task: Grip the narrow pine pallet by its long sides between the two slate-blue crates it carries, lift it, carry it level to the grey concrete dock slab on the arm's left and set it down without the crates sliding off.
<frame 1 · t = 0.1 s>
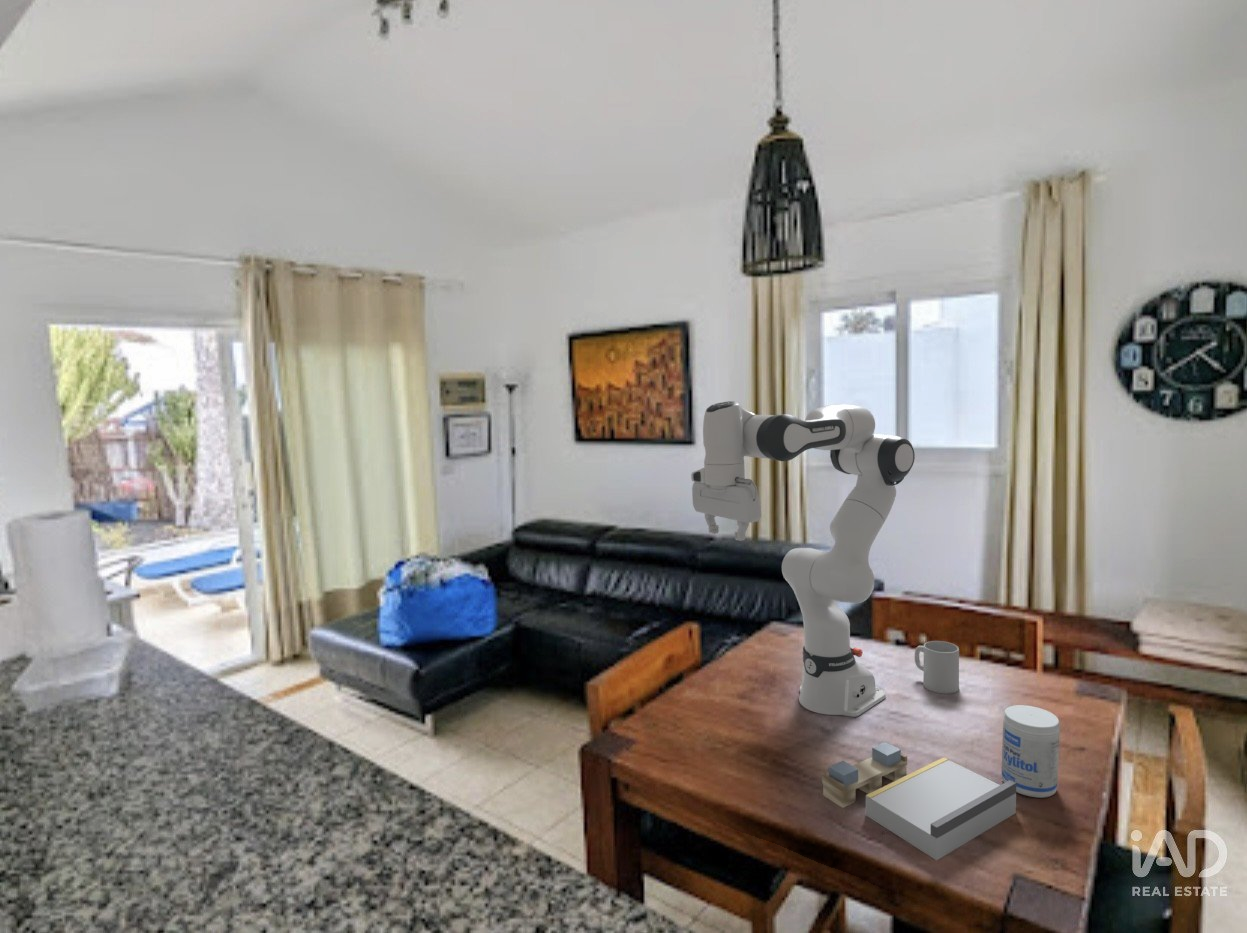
hand: (726, 536, 155), 48 cm above the table, fingers open, 8 cm apart
mug: (935, 685, 183), on the table
crate a: (886, 760, 142), point 3 cm above the table, touching pallet
supplement tub: (1029, 786, 137), on the table
dock: (940, 814, 129), on the table
pallet: (865, 785, 139), on the table, touching crate a, crate b
crate b: (843, 779, 136), point 3 cm above the table, touching pallet
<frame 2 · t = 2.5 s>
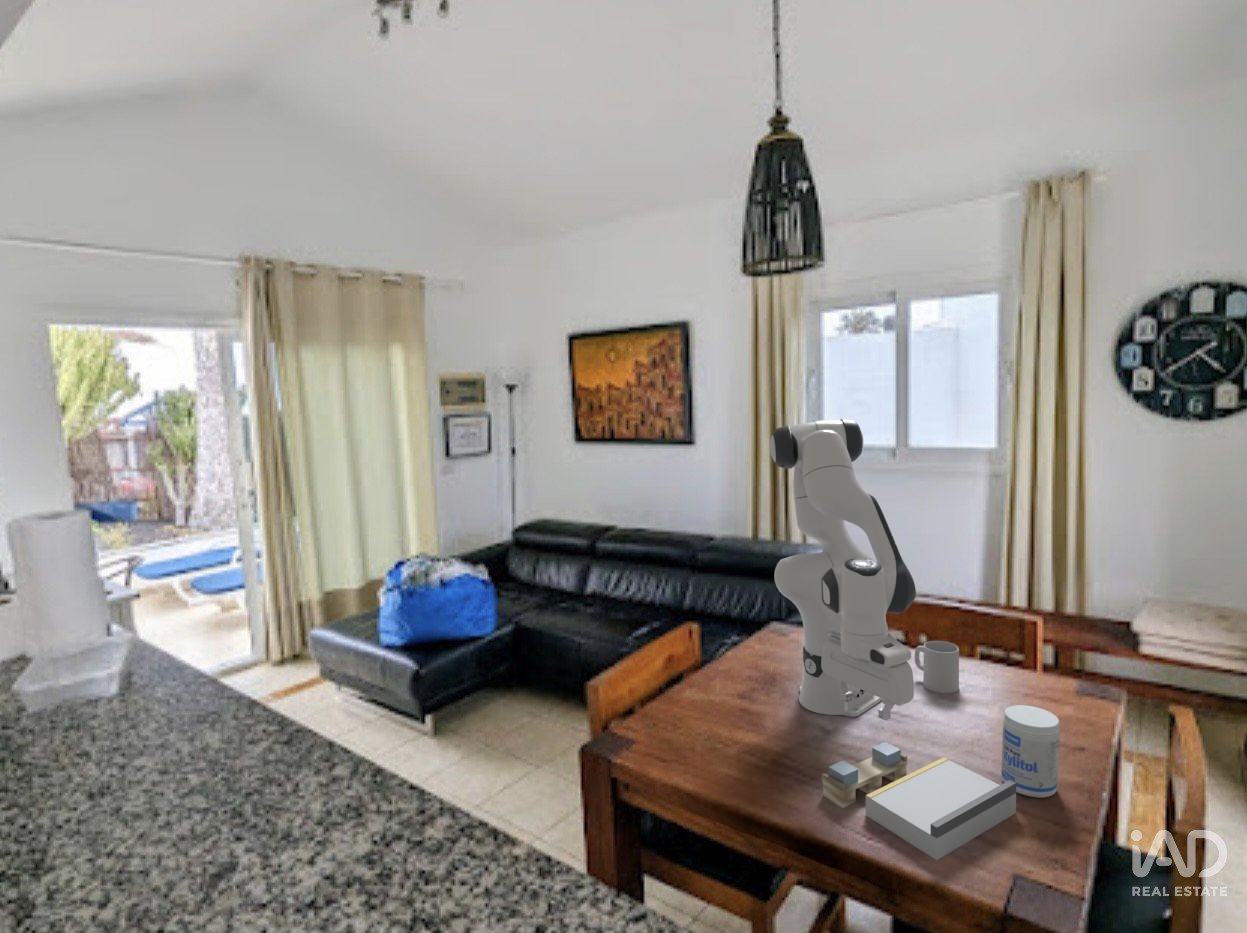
hand: (865, 709, 137), 16 cm above the table, fingers open, 8 cm apart
nothing on the table moved.
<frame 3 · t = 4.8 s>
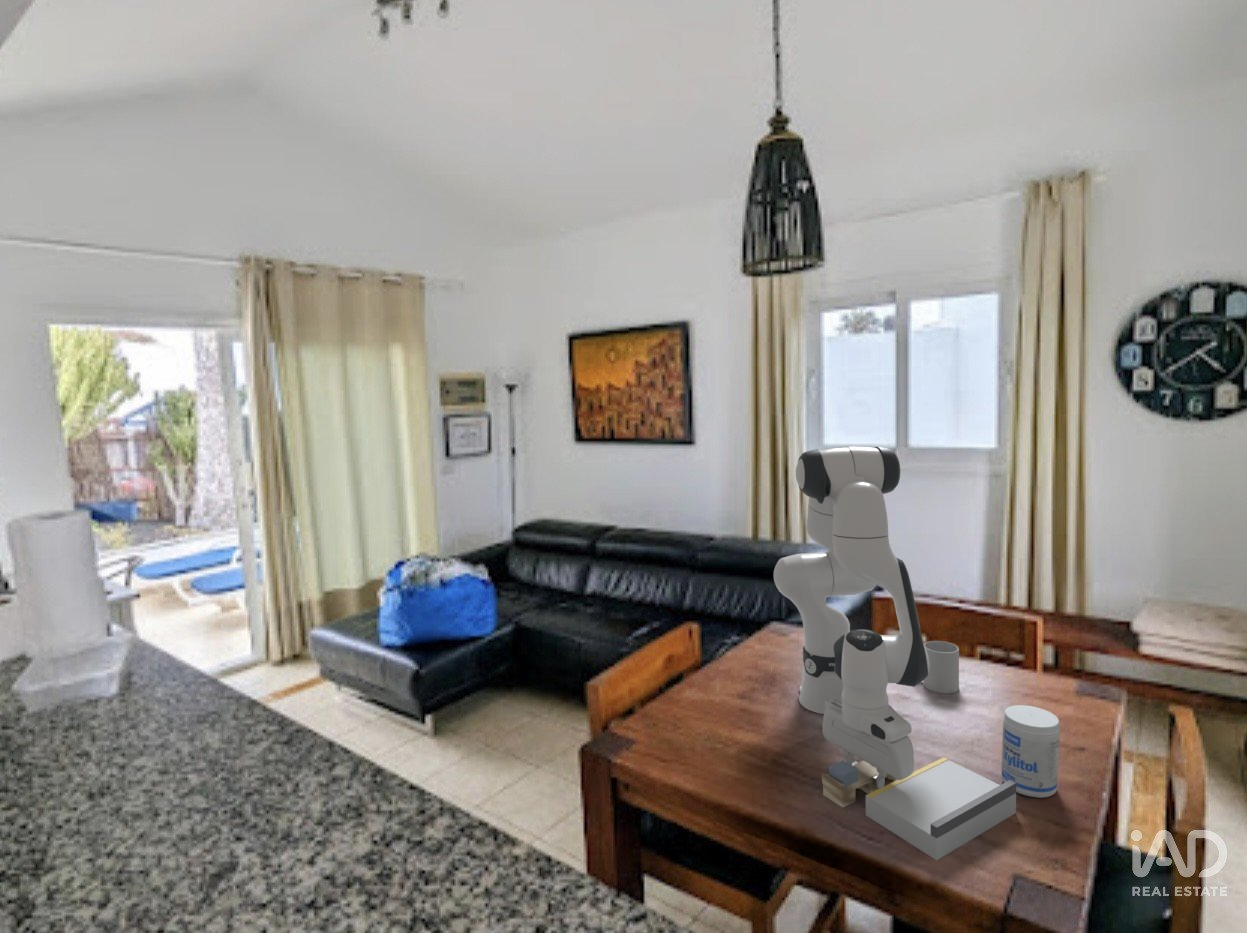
hand: (865, 778, 139), 2 cm above the table, fingers closed on pallet, 5 cm apart
pallet: (865, 785, 139), on the table, touching crate a, crate b, gripper
everything else where it was.
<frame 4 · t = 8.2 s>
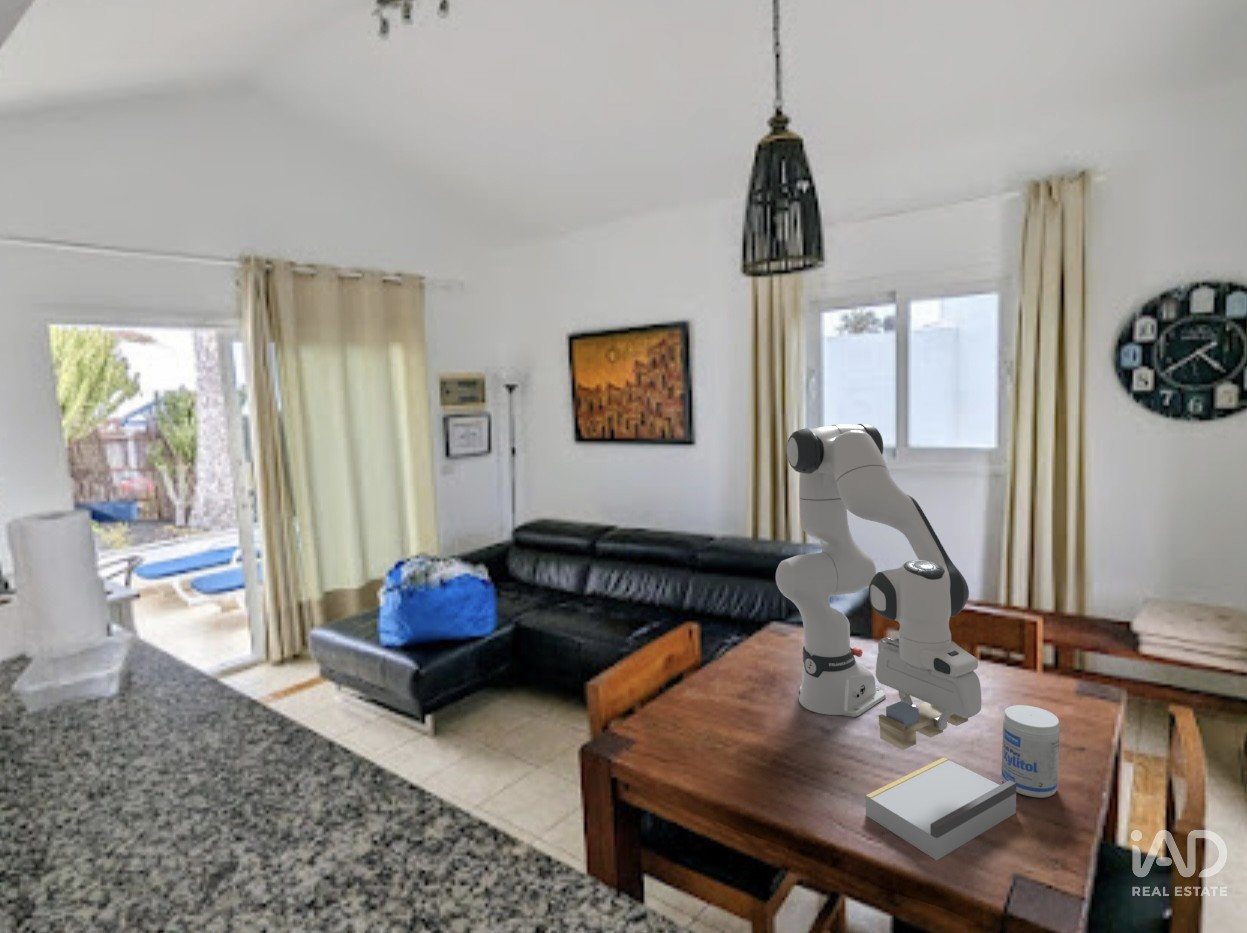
hand: (925, 721, 129), 18 cm above the table, fingers closed on pallet, 5 cm apart
crate a: (946, 702, 132), point 19 cm above the table, touching pallet
pallet: (924, 729, 129), point 16 cm above the table, touching crate a, crate b, gripper
crate b: (902, 720, 126), point 20 cm above the table, touching pallet
everything else where it was.
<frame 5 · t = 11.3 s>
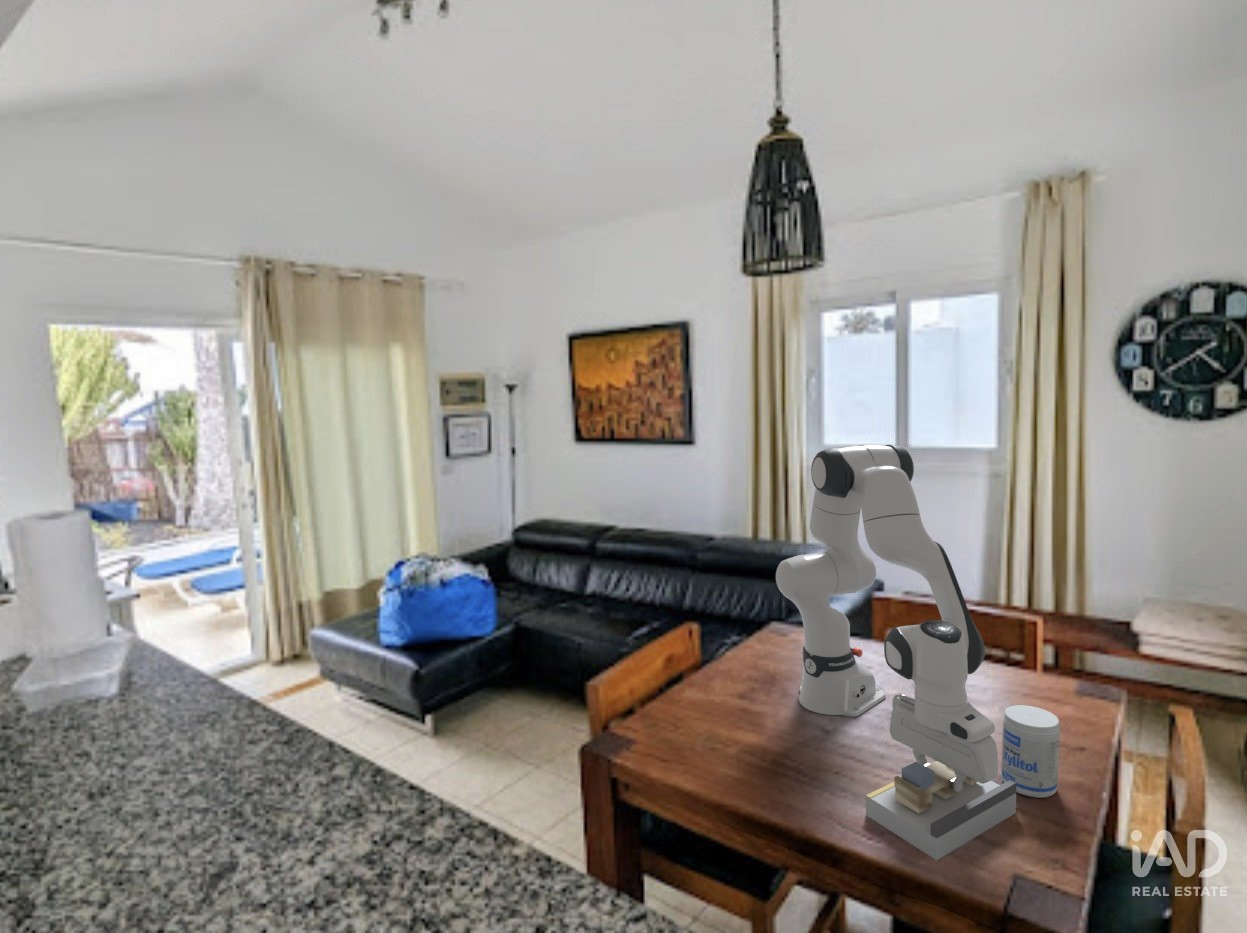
hand: (940, 781, 129), 7 cm above the table, fingers closed on pallet, 5 cm apart
crate a: (960, 761, 131), point 8 cm above the table, touching pallet
pallet: (939, 789, 129), point 5 cm above the table, touching crate a, crate b, gripper
crate b: (917, 782, 125), point 8 cm above the table, touching pallet
everything else where it was.
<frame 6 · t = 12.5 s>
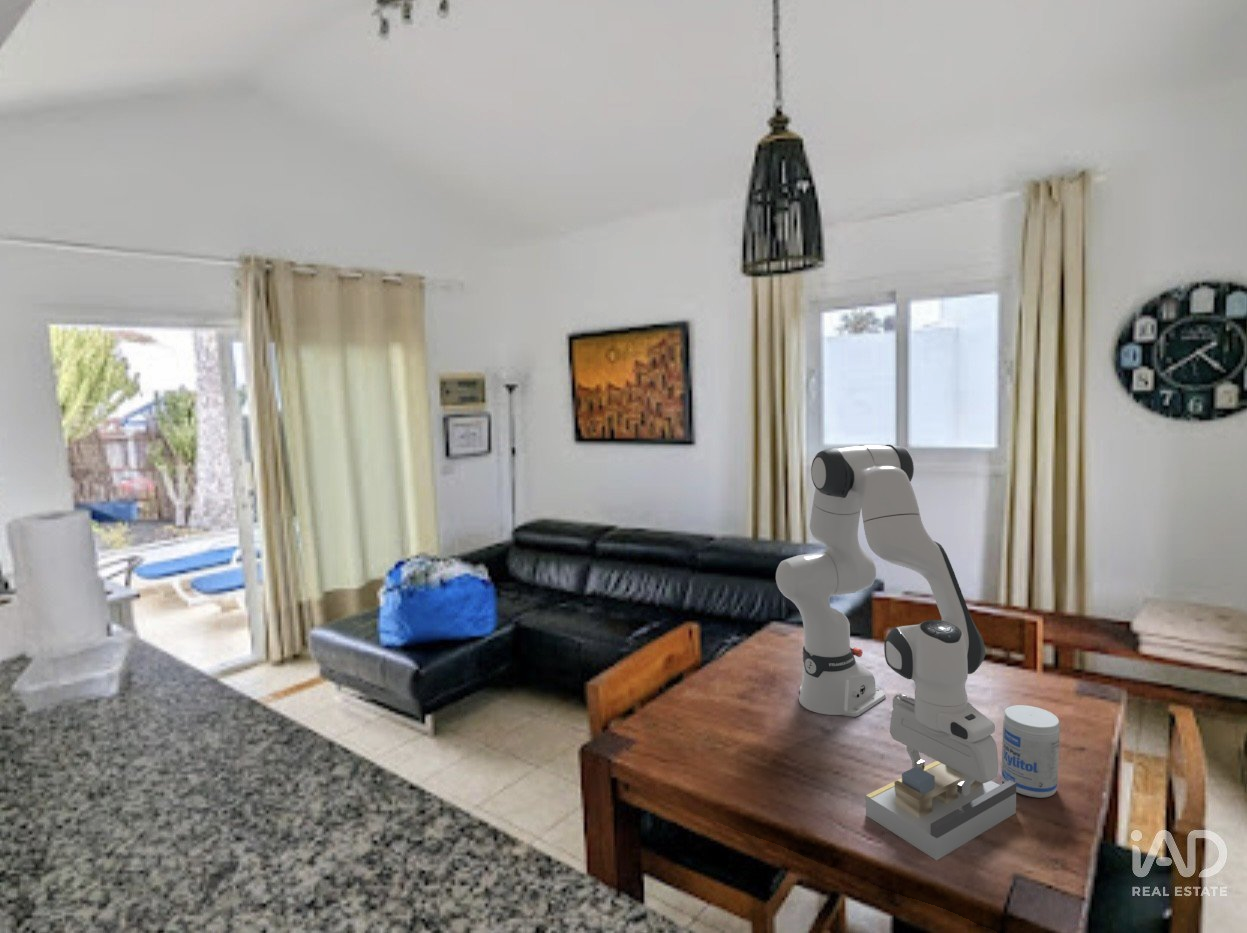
hand: (940, 781, 129), 7 cm above the table, fingers open, 8 cm apart
pallet: (940, 794, 129), point 4 cm above the table, touching crate a, crate b, dock
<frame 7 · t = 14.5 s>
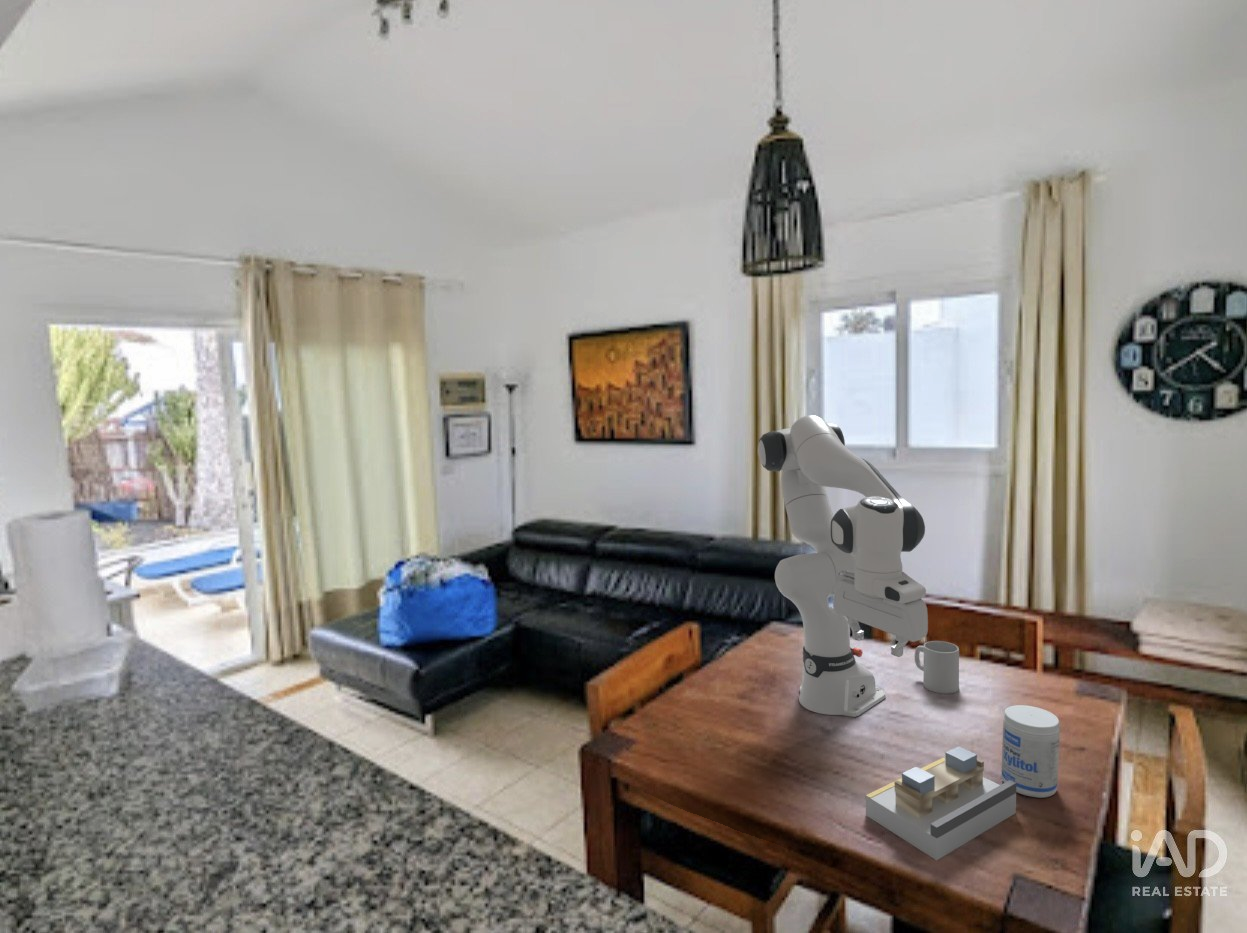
hand: (877, 647, 138), 28 cm above the table, fingers open, 8 cm apart
nothing on the table moved.
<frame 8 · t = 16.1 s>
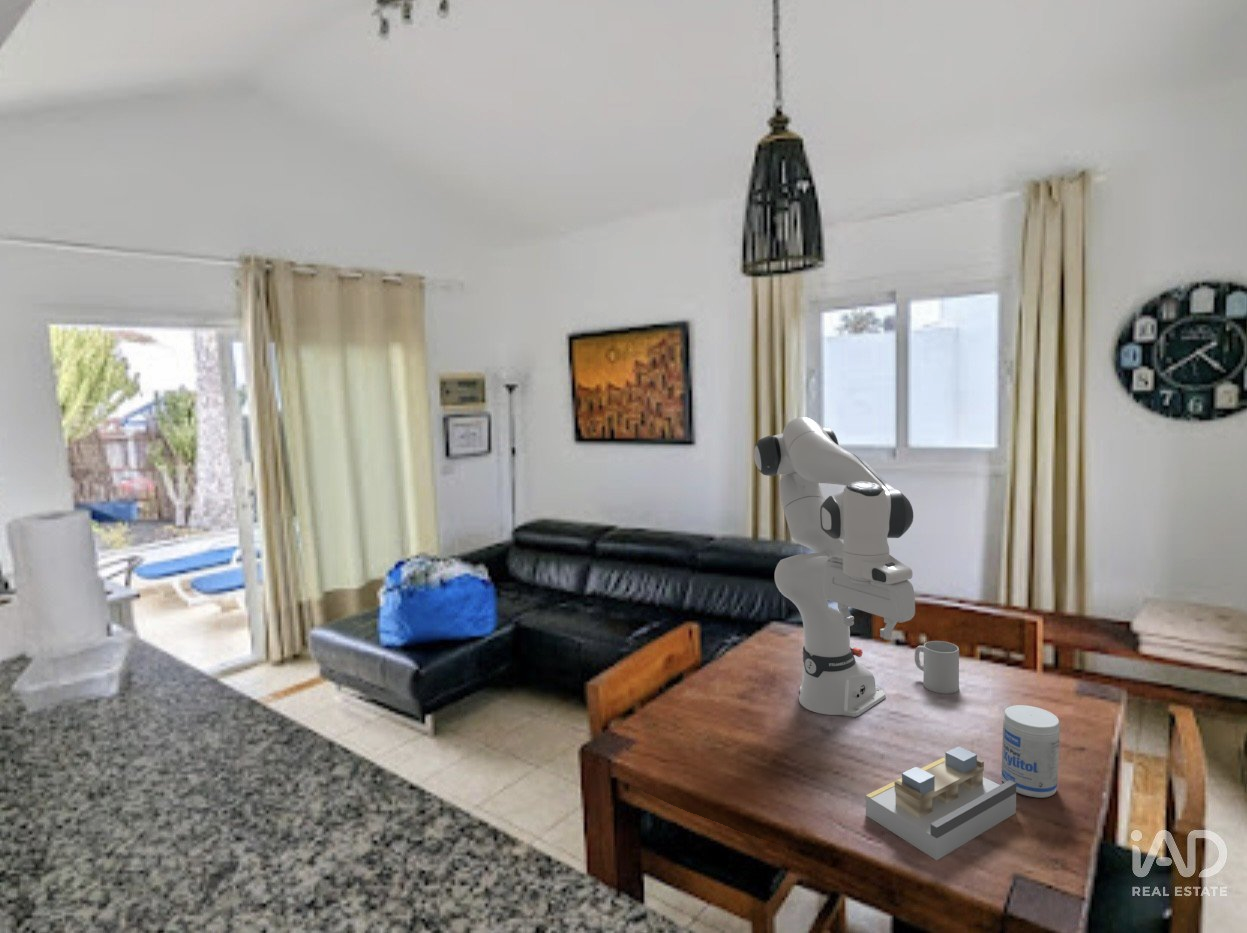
hand: (866, 631, 139), 31 cm above the table, fingers open, 8 cm apart
nothing on the table moved.
at the end: pallet inside the target area on the dock (0.1 cm from its centre), point 4.0 cm above the dock's base; crate a inside the target area on the pallet (6.2 cm from its centre), point 3.5 cm above the pallet's base; crate b inside the target area on the pallet (6.2 cm from its centre), point 3.5 cm above the pallet's base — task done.
